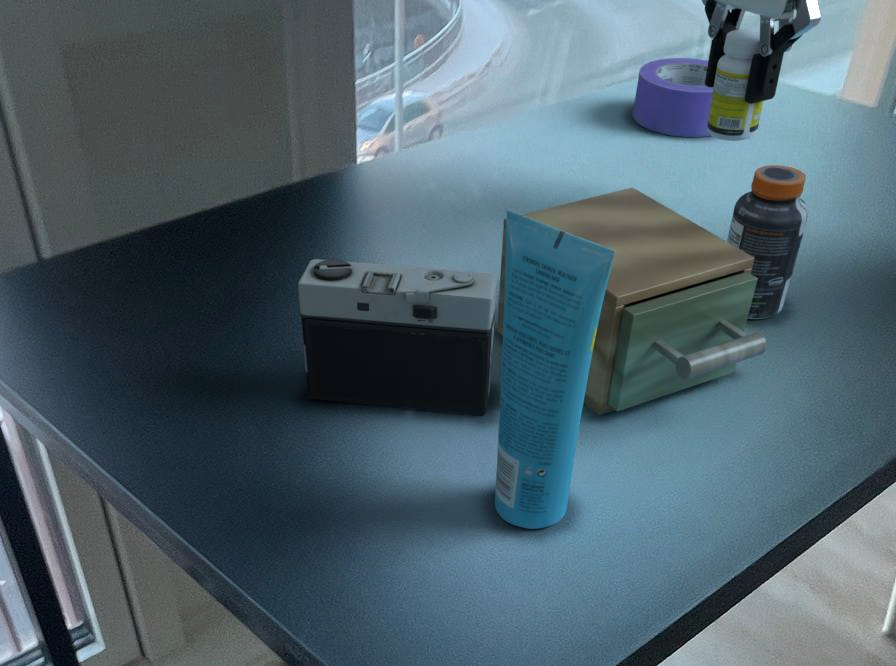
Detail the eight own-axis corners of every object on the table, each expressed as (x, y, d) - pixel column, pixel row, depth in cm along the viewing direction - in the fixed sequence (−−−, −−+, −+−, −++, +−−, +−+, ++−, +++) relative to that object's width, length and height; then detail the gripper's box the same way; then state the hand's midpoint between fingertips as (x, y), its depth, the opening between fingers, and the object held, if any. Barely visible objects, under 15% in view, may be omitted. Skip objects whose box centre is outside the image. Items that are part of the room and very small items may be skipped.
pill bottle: (795, 305, 89) (834, 173, 81) (758, 328, 86) (794, 194, 78) (737, 282, 92) (768, 152, 84) (699, 304, 89) (728, 172, 81)
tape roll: (753, 126, 119) (763, 79, 115) (676, 144, 115) (685, 97, 111) (686, 96, 126) (695, 51, 122) (612, 113, 122) (618, 67, 118)
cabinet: (726, 373, 81) (755, 257, 74) (598, 415, 77) (617, 297, 70) (615, 296, 90) (632, 186, 83) (496, 331, 85) (503, 218, 79)
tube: (594, 511, 69) (639, 233, 55) (556, 547, 66) (593, 265, 52) (504, 470, 72) (525, 198, 58) (464, 504, 69) (476, 227, 55)
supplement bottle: (740, 122, 99) (758, 25, 93) (766, 138, 96) (787, 38, 90) (696, 128, 98) (712, 31, 93) (721, 144, 95) (739, 45, 89)
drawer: (772, 398, 77) (800, 303, 71) (653, 441, 73) (673, 343, 67) (628, 300, 87) (643, 210, 82) (518, 332, 84) (525, 239, 78)
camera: (498, 363, 82) (506, 243, 75) (485, 419, 76) (493, 295, 69) (330, 348, 83) (322, 228, 76) (305, 402, 78) (295, 279, 71)
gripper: (899, -144, 78) (835, 110, 91) (747, -168, 88) (709, 62, 101) (827, -133, 75) (772, 126, 88) (680, -160, 86) (650, 75, 99)
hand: (739, 90), depth 95 cm, fingers closed on supplement bottle, 4 cm apart
